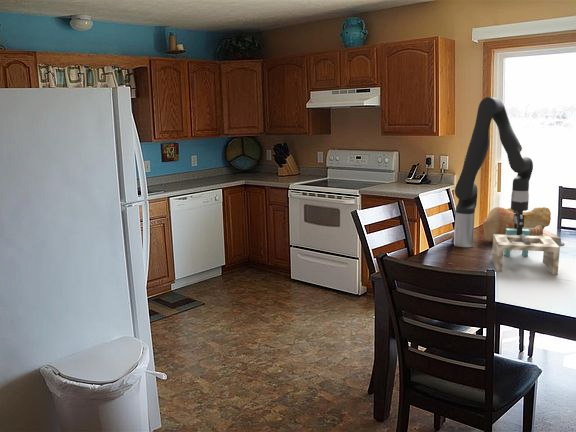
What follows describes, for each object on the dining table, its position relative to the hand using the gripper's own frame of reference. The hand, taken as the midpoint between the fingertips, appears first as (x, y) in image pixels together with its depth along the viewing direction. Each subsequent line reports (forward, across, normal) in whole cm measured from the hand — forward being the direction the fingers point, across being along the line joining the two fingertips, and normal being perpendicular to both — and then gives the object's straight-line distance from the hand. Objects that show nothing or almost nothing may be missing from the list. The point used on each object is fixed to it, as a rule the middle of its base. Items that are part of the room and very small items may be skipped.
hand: (517, 233), depth 263 cm
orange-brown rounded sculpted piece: (+11, -24, +1) cm, 27 cm away
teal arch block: (+11, 0, 0) cm, 11 cm away
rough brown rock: (+11, -55, +14) cm, 58 cm away
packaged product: (+11, -32, +20) cm, 39 cm away
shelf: (+11, +20, 0) cm, 23 cm away
